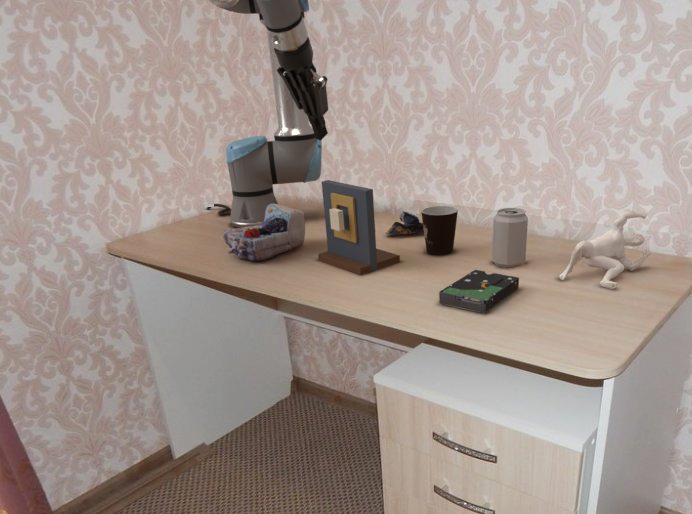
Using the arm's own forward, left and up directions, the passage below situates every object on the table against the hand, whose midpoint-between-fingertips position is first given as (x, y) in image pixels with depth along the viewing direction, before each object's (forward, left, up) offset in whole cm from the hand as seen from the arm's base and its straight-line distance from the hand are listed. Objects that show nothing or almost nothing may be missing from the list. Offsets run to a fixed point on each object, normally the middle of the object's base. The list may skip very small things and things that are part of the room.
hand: (321, 136), depth 147 cm
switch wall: (+15, 0, -27) cm, 31 cm away
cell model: (-6, -15, -27) cm, 31 cm away
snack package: (+3, +22, -27) cm, 35 cm away
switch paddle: (+16, -6, -18) cm, 24 cm away
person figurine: (+56, +37, -27) cm, 72 cm away
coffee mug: (+20, +20, -27) cm, 39 cm away
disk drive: (+50, +8, -27) cm, 57 cm away
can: (+38, +26, -27) cm, 53 cm away
